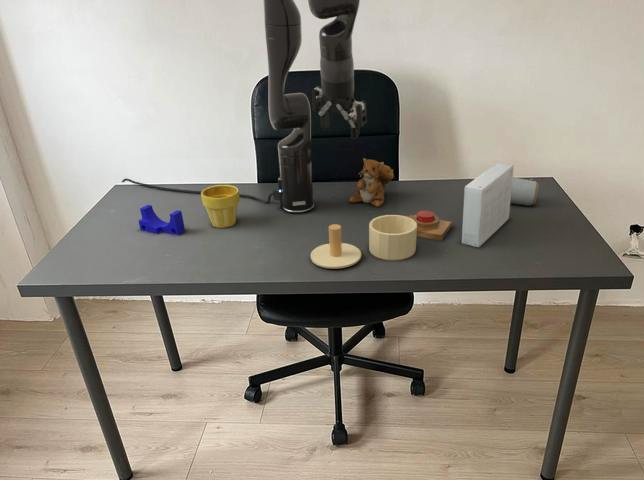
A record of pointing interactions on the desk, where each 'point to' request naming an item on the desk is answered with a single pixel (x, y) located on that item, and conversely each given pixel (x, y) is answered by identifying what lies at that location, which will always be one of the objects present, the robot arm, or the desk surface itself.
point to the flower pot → (221, 204)
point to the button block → (432, 228)
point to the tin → (392, 237)
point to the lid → (335, 251)
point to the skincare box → (486, 204)
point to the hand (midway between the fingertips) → (340, 132)
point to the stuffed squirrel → (373, 183)
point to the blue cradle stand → (161, 222)
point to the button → (425, 216)
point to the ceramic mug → (523, 191)
